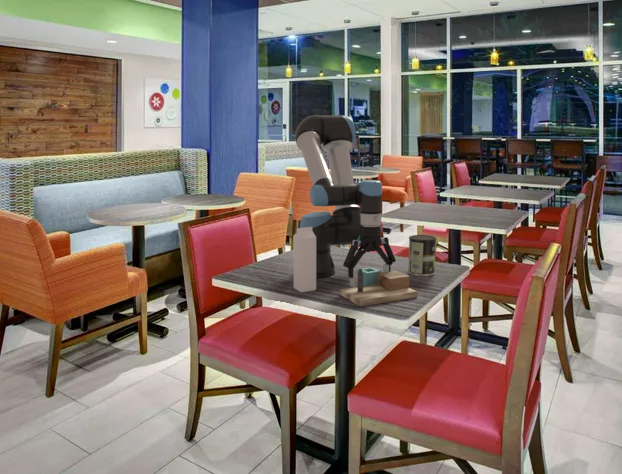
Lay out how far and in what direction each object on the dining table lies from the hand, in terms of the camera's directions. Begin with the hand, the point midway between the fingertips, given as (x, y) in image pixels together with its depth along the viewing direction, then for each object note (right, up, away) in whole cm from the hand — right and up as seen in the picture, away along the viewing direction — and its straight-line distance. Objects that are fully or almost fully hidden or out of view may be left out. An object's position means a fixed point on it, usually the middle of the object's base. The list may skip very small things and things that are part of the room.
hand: (369, 284), depth 194 cm
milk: (-23, -2, -3) cm, 23 cm away
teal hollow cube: (0, -1, 0) cm, 1 cm away
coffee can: (+22, +3, +19) cm, 29 cm away
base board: (+2, -3, -10) cm, 11 cm away
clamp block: (+7, 0, -6) cm, 10 cm away
